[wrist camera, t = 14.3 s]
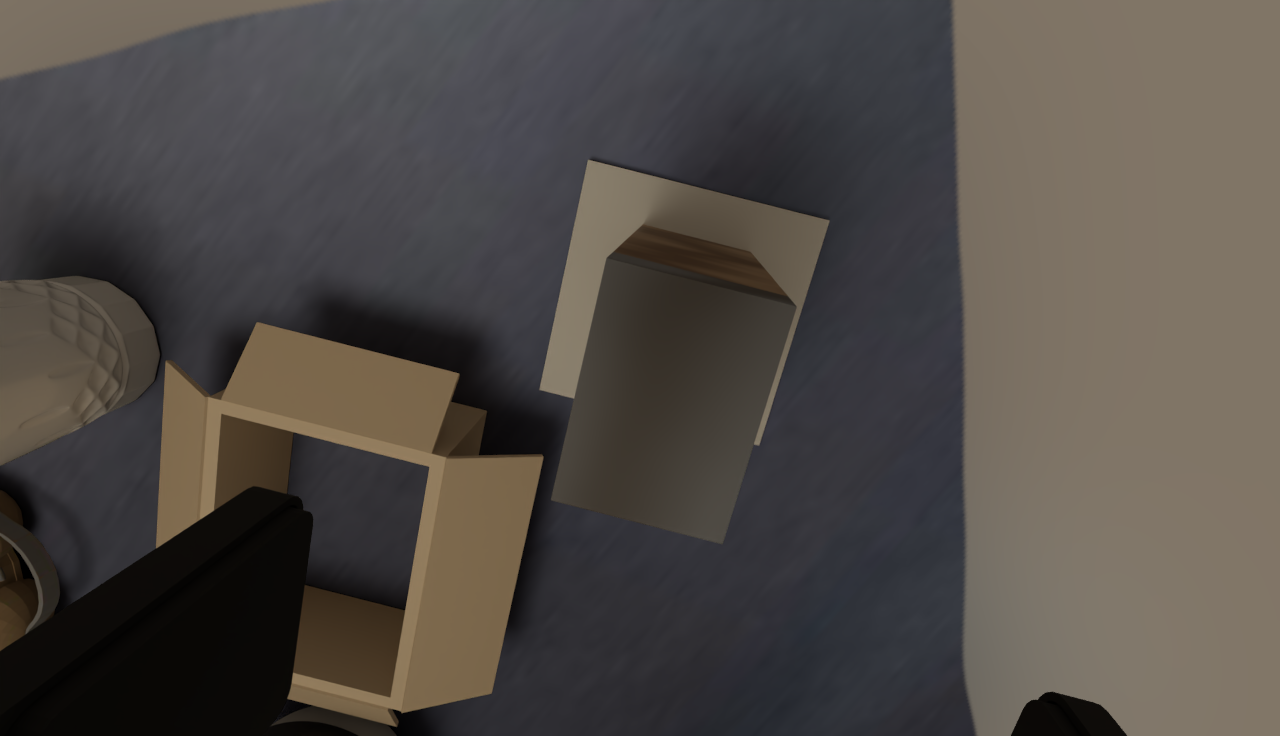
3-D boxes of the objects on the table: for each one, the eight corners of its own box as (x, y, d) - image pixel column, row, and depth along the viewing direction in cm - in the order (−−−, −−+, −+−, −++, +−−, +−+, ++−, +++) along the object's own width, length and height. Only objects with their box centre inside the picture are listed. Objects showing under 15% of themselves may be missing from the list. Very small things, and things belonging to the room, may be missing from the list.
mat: (827, 220, 31) (829, 220, 30) (758, 442, 34) (759, 445, 33) (589, 160, 31) (588, 159, 30) (541, 387, 34) (539, 389, 33)
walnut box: (750, 251, 31) (796, 306, 17) (709, 395, 33) (722, 544, 19) (643, 224, 31) (606, 257, 18) (607, 369, 33) (550, 500, 19)
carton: (571, 372, 33) (545, 413, 28) (499, 690, 39) (465, 782, 33) (222, 284, 34) (122, 306, 28) (198, 613, 39) (110, 691, 33)
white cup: (155, 438, 36) (-39, 532, 26) (12, 379, 36) (-238, 452, 26) (188, 302, 34) (-12, 350, 24) (35, 238, 34) (-227, 261, 24)
